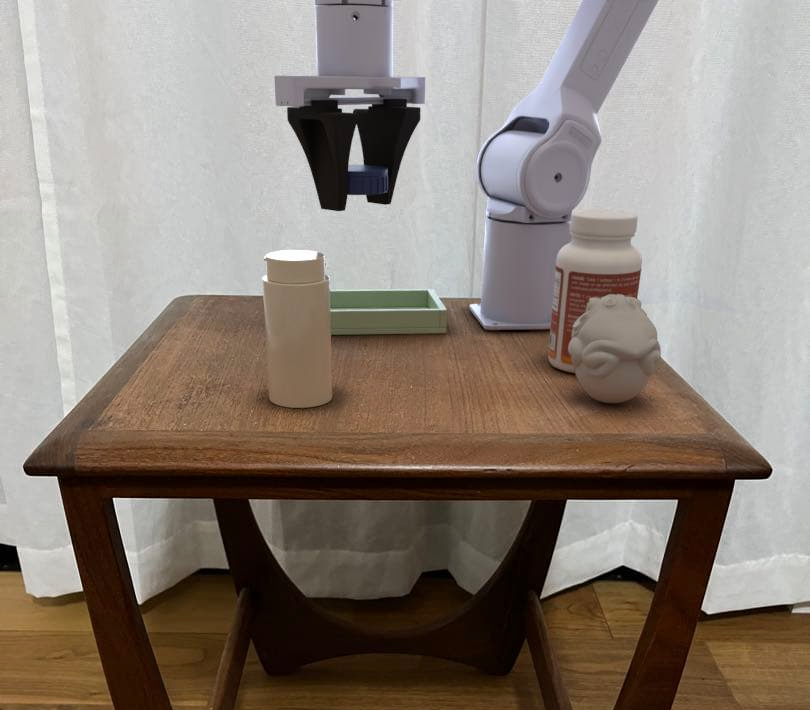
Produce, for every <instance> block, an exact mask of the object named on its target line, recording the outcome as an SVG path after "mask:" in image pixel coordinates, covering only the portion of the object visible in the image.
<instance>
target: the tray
mask: <svg viewBox="0 0 810 710" xmlns="http://www.w3.org/2000/svg"><path fill="white" fill-rule="evenodd" d="M330 312H331V336H347V335H348V336H349V335H350V336H352V335H354V336H355V335H356V336H357V335H416V334H417V335H418V334H420V335H422V334H423V335H424V334H427V335H428V334H429V335H430V334H447V323H448V309H447V308H446V306H445V305H444V303H443V302H442V301H441V299H440V297H439V296H438V295H437V292H436V291H435V289H433V288H403V289H402V288H393V289H392V288H391V289H389V288H388V289H387V288H386V289H385V288H383V289H330Z"/></svg>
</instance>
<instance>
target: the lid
mask: <svg viewBox="0 0 810 710" xmlns="http://www.w3.org/2000/svg"><path fill="white" fill-rule="evenodd" d="M388 190H389V175H388V168H386V167H382V166H374V165H364V164H349V165H348V194H347V196H366V195H374V194H382V193H386V192H387V191H388Z"/></svg>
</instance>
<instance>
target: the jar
mask: <svg viewBox="0 0 810 710" xmlns="http://www.w3.org/2000/svg"><path fill="white" fill-rule="evenodd" d="M263 261H264V262H265V269H266V270H265V271H266V275H264V276H262V278H261V282H262V283H261V284H262V285H261V286H262V300H263V301H262V302H263V314H264V315H263V316H264V318H263V319H264V337H265V351H266V370H267V384H268V399H269V401H270V402H271V404H274V405H277V406H279V407H284V408H291V409H307V408H315V407H319V406H320V407H321V406H322V405H323V406H324V405H326V404H327V403H330V402H331V401H332V399H333V364H332V363H333V362H332V361H333V359H332V335H331V312H330V290H331V277H330V276H329V275H327V274H326V266H327V262H325V261H326V260H325V254H324V253H322V252H319V251H315V250H306V249H305V250H304V249H284V250H276V251H271V252H269V253H266V254H265V255H264V256H263Z"/></svg>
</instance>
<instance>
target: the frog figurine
mask: <svg viewBox="0 0 810 710" xmlns="http://www.w3.org/2000/svg"><path fill="white" fill-rule="evenodd" d="M587 305H588V306H587V307H586V312H585V313H584V314H583V315H581V316H580V317H579V318H578V319H577V320H576V322H575V323H574V325H573V330H572V336H571V339H572V340H571V341H570V343H569V346H568V351H569V354H570V355H571V356H572V357H571V361H572V363H573V366H574V370H575V373H574V374H575V376H576V378H577V380H578V383H579V385H580V386H581V388H582V389H583V391H584V392H585V393H586V394H587V395H588V396H589V397H591V398H592V399H594V400H596V401H599V402H602V403H605V404H620V403H621V404H622V403H625V402H627V401H629V400H631V399H633V398H634V397H636V396H637V395H639V394H640V393H641V392H642V391H643V390H644V389H645V387H646V386H647V384H648V382H649V380H650V378H651V377H652V376H653V375H654V374H655V373H656V372H655V371H656V369H655V365H657V364H659V363H660V362H661V359H662V358H661V357H662V351H661V345H660V342H659V339H658V330H657V328H656V326H655V324H654V323H653V321H652V320H651V319H650V318H649V316H648V314H647V312H646V311H645V310H644V309H643V308H642V301H641V300H640V299H639V298H637V299H636V298H634V297H625V296H624V295H621V294H617V295H613V294H609V295H607V296H604V297H602V298H601V299H599V298H595V297H593V298H590V299H589V303H587Z"/></svg>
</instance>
